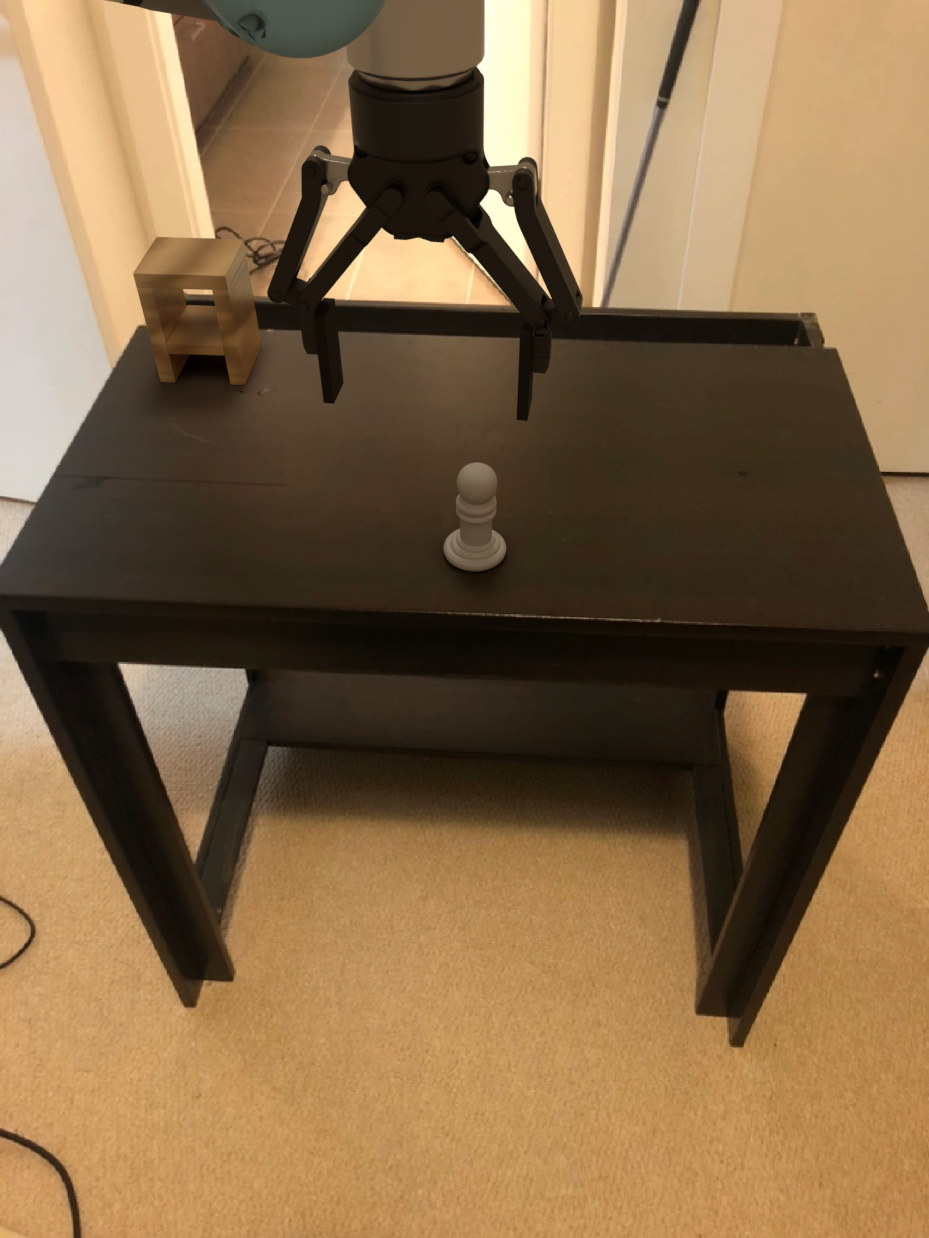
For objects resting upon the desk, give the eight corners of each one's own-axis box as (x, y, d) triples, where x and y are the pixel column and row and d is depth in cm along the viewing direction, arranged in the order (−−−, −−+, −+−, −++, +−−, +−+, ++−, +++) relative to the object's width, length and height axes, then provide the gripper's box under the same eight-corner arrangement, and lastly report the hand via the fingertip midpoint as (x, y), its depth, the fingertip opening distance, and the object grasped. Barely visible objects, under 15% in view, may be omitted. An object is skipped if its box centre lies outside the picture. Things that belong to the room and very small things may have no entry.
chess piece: (506, 533, 85) (509, 447, 79) (505, 575, 82) (509, 488, 75) (445, 531, 86) (443, 446, 79) (441, 573, 82) (439, 487, 76)
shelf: (160, 382, 103) (132, 273, 94) (181, 343, 108) (156, 236, 100) (245, 385, 102) (225, 276, 94) (261, 346, 108) (243, 239, 99)
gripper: (647, 57, 55) (609, 387, 70) (220, 37, 58) (272, 358, 73) (643, 102, 50) (602, 448, 65) (173, 78, 53) (240, 415, 68)
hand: (427, 401), depth 69 cm, fingers open, 13 cm apart
